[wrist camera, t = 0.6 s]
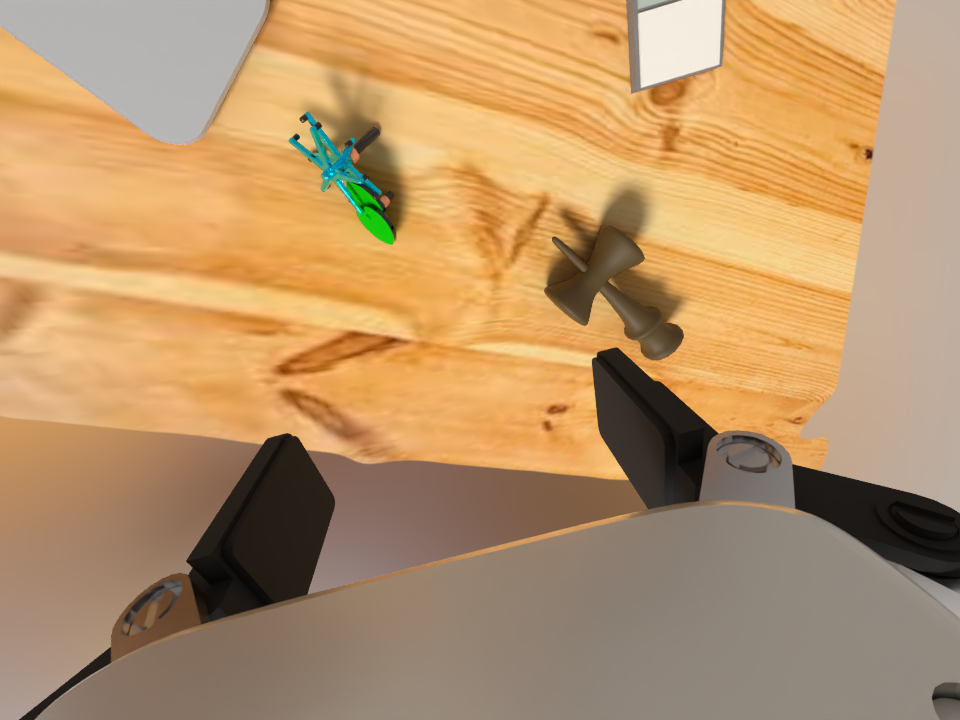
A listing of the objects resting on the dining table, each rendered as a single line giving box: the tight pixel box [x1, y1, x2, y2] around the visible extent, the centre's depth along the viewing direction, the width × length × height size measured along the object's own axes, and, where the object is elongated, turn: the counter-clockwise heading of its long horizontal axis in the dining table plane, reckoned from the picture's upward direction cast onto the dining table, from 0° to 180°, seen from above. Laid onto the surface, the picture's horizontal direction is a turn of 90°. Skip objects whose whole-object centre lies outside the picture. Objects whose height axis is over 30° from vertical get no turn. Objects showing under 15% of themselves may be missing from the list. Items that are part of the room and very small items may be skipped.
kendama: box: [544, 226, 684, 360], centre depth 40 cm, size 6×10×20 cm
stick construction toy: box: [289, 112, 396, 245], centre depth 33 cm, size 12×7×8 cm
